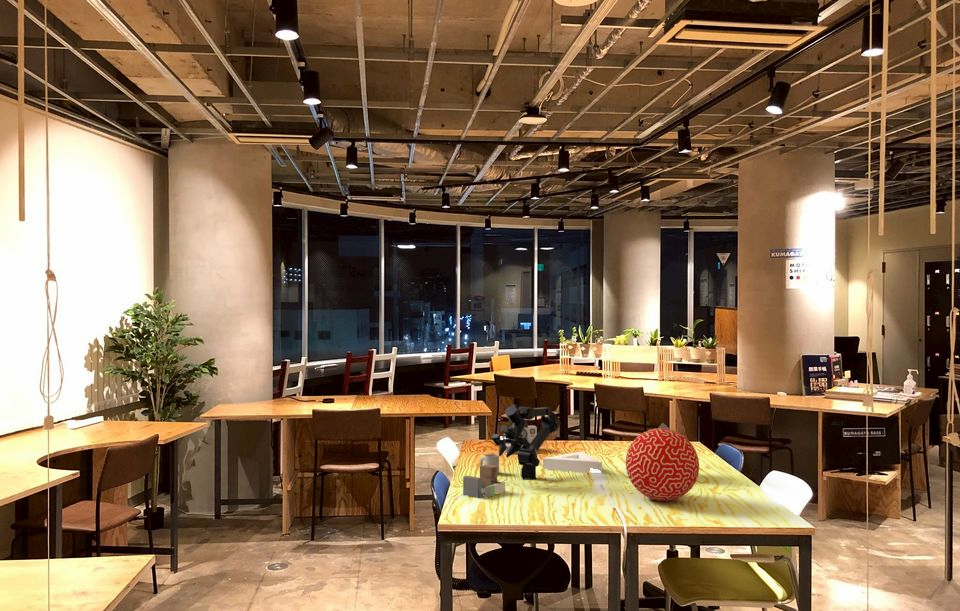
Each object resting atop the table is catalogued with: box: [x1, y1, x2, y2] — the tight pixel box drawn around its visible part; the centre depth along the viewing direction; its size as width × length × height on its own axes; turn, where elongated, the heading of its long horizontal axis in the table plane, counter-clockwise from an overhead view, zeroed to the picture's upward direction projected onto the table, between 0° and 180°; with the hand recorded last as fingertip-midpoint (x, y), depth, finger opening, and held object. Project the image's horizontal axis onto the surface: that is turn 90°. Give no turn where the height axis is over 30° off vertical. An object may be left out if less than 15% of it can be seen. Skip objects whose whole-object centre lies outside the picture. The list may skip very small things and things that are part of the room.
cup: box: [478, 453, 500, 475], centre depth 354 cm, size 7×10×9 cm
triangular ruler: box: [542, 450, 603, 474], centre depth 370 cm, size 30×26×6 cm
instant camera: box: [503, 425, 539, 454], centre depth 415 cm, size 21×21×15 cm
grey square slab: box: [462, 475, 481, 498], centre depth 308 cm, size 2×8×8 cm, turn 52°
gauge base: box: [481, 481, 506, 498], centre depth 313 cm, size 14×11×4 cm
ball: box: [625, 427, 700, 502], centre depth 301 cm, size 30×30×30 cm
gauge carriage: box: [479, 464, 502, 488], centre depth 316 cm, size 5×11×9 cm, turn 53°
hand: (503, 456), depth 326 cm, fingers open, 4 cm apart
